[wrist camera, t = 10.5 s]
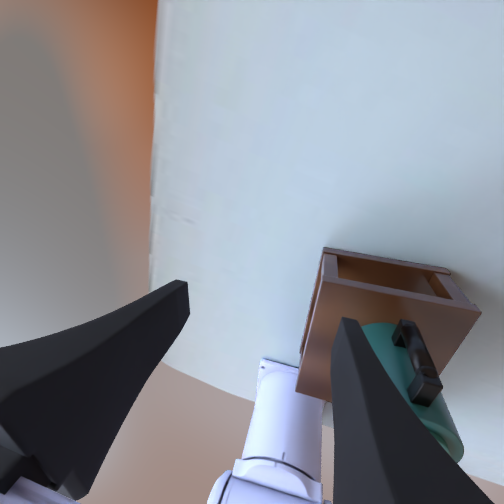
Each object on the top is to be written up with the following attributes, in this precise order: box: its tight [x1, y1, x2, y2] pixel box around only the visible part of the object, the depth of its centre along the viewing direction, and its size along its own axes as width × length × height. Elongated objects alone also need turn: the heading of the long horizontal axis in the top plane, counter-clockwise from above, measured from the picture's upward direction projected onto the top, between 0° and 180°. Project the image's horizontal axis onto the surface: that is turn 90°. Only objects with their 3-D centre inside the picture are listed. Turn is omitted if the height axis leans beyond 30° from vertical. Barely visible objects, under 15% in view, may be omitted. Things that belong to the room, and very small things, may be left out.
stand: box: [295, 247, 482, 403], centre depth 20 cm, size 12×9×5 cm
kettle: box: [361, 319, 464, 463], centre depth 14 cm, size 9×5×7 cm, turn 176°
